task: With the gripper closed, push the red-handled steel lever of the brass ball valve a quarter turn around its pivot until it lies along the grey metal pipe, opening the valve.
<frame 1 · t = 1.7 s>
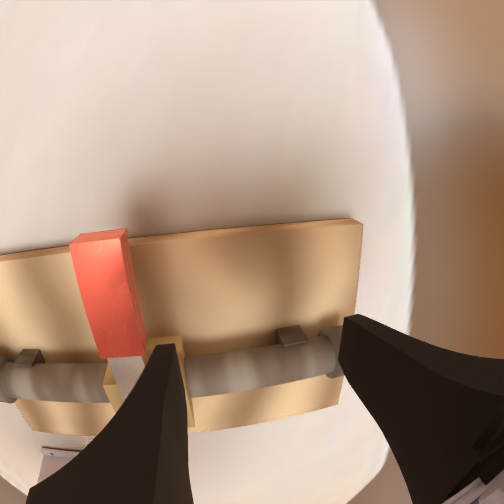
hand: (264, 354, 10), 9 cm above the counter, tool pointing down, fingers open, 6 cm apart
valve board: (154, 349, 20), on the counter
valve lever: (127, 358, 12), point 7 cm above the counter, hinge at 0.0°
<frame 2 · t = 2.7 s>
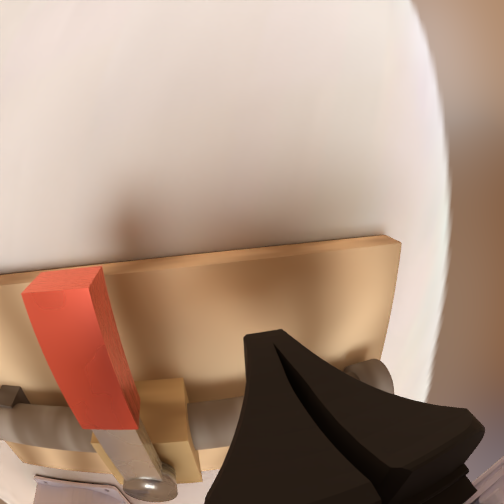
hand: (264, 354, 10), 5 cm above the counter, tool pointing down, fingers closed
valve board: (151, 388, 16), on the counter
valve lever: (117, 425, 9), point 7 cm above the counter, hinge at 0.0°
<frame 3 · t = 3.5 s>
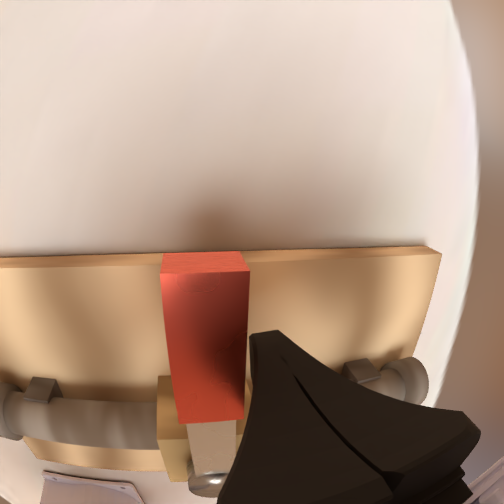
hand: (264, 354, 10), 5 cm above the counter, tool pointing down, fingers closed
valve board: (200, 382, 17), on the counter
valve lever: (209, 417, 9), point 7 cm above the counter, hinge at 0.1°, touching gripper
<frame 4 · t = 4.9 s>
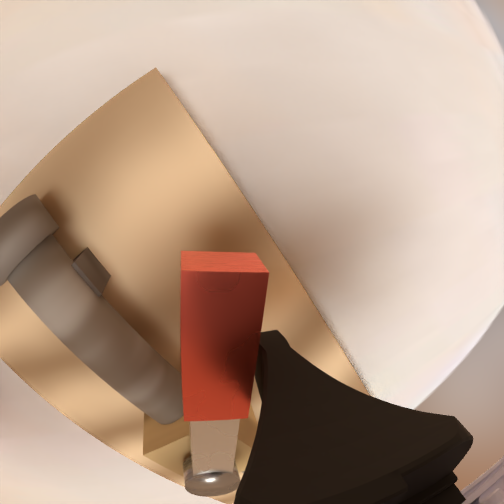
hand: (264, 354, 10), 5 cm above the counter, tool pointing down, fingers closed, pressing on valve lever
valve board: (196, 381, 17), on the counter
valve lever: (212, 416, 9), point 7 cm above the counter, hinge at 51.2°, touching gripper
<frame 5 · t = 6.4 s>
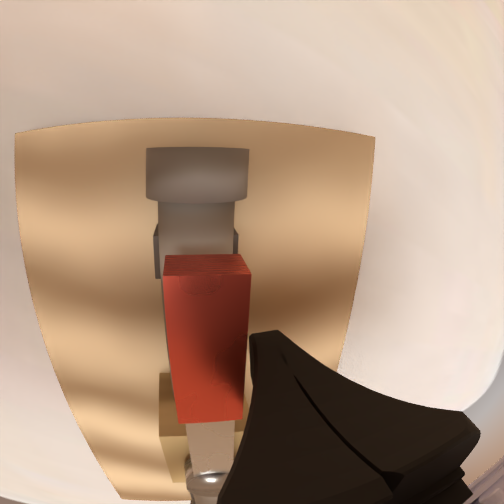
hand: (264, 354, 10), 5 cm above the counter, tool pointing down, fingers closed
valve board: (198, 382, 17), on the counter
valve lever: (208, 417, 9), point 7 cm above the counter, hinge at 89.6°, touching gripper
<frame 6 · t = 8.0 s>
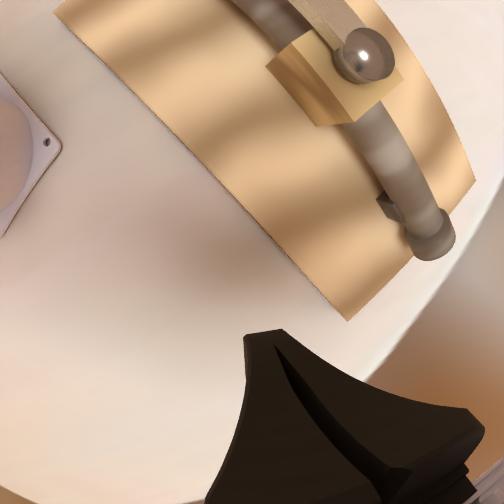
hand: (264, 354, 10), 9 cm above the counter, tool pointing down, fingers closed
valve board: (306, 81, 16), on the counter
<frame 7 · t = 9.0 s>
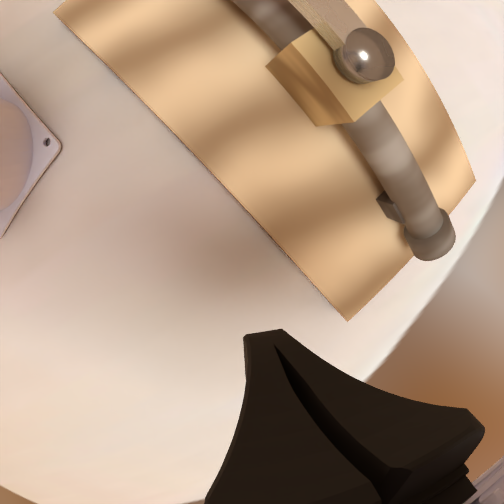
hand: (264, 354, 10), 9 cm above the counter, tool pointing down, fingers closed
valve board: (306, 81, 16), on the counter
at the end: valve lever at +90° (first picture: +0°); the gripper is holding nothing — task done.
